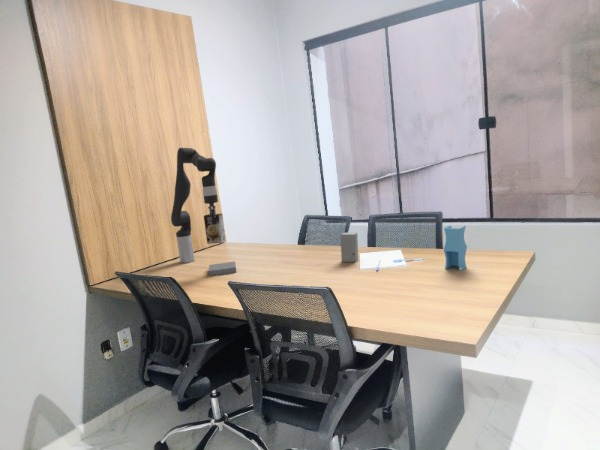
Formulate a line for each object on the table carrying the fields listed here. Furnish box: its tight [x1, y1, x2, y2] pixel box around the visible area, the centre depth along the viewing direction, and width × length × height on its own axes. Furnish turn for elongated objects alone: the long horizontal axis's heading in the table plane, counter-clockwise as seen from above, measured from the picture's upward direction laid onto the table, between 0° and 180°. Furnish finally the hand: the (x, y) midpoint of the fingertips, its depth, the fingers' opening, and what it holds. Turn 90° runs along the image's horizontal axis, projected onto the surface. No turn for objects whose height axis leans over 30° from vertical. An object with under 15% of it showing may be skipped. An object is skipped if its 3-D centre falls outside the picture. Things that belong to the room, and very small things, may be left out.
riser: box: [208, 260, 237, 277], centre depth 238 cm, size 15×15×3 cm
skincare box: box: [340, 232, 359, 263], centre depth 232 cm, size 8×7×16 cm
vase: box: [443, 224, 468, 272], centre depth 198 cm, size 8×8×20 cm
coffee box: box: [203, 213, 226, 245], centre depth 234 cm, size 9×6×16 cm
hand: (214, 223), depth 233 cm, fingers closed on coffee box, 8 cm apart
